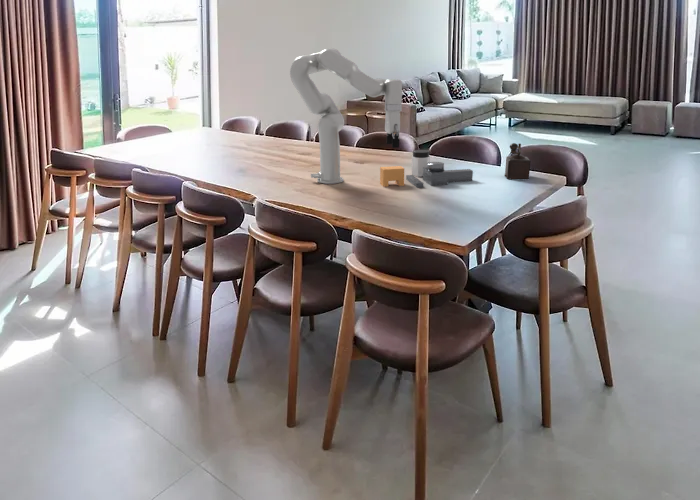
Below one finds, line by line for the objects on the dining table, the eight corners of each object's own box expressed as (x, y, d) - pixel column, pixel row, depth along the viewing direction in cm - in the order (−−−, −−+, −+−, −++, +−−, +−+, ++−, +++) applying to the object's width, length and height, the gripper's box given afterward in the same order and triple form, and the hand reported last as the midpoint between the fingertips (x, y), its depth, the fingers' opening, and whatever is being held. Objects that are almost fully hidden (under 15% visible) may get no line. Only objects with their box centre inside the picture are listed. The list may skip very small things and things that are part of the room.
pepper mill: (503, 174, 313) (505, 138, 307) (525, 175, 312) (528, 138, 306) (507, 182, 298) (510, 144, 292) (531, 182, 297) (534, 144, 291)
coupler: (417, 187, 289) (417, 168, 286) (406, 179, 305) (406, 160, 302) (477, 184, 294) (478, 165, 291) (463, 176, 311) (464, 158, 308)
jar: (427, 173, 318) (428, 149, 314) (431, 176, 311) (431, 152, 307) (410, 173, 317) (410, 149, 313) (413, 177, 310) (413, 152, 306)
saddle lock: (383, 186, 292) (383, 169, 289) (380, 183, 297) (380, 167, 295) (404, 185, 293) (404, 168, 291) (400, 182, 299) (400, 165, 296)
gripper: (380, 105, 291) (380, 143, 297) (390, 110, 275) (389, 149, 281) (396, 105, 292) (395, 142, 298) (406, 109, 276) (405, 148, 282)
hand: (392, 145), depth 289 cm, fingers open, 9 cm apart
